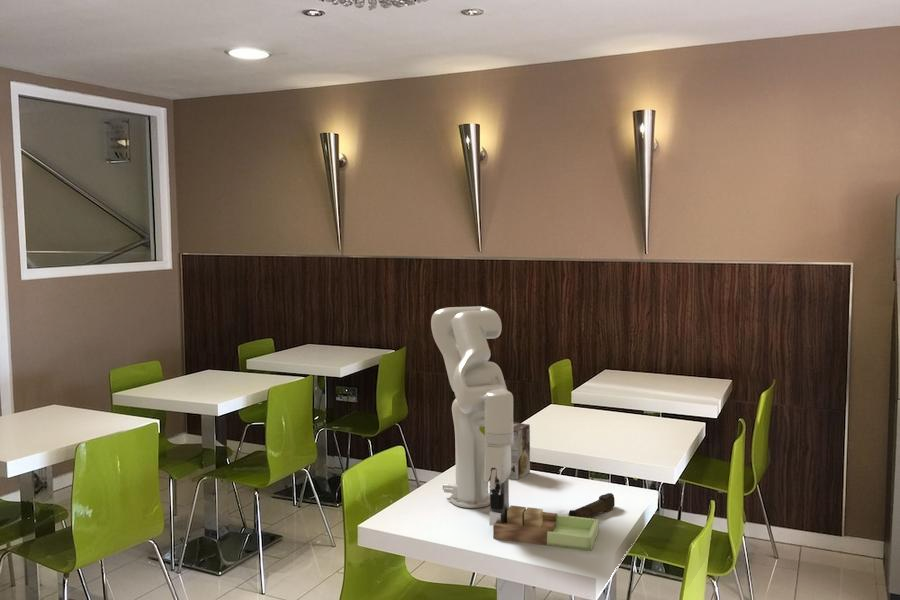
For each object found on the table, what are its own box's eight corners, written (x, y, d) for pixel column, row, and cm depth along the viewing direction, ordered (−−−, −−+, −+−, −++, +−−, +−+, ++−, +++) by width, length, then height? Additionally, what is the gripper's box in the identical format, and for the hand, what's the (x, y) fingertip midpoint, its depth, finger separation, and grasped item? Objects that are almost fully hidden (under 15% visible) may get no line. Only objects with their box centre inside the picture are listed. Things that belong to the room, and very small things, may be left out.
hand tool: (579, 527, 204) (579, 510, 204) (567, 522, 207) (567, 506, 207) (622, 510, 217) (622, 494, 216) (610, 506, 220) (610, 490, 219)
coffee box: (512, 469, 254) (512, 421, 253) (530, 472, 251) (530, 424, 250) (500, 477, 246) (500, 427, 245) (518, 480, 243) (518, 430, 242)
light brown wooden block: (524, 527, 199) (524, 512, 198) (527, 522, 202) (527, 507, 202) (539, 529, 197) (539, 514, 197) (542, 523, 201) (542, 508, 201)
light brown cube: (507, 525, 200) (507, 510, 200) (511, 520, 204) (511, 505, 203) (522, 527, 199) (522, 512, 198) (525, 521, 202) (525, 507, 202)
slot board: (493, 538, 197) (493, 524, 196) (506, 520, 209) (506, 507, 209) (547, 545, 192) (547, 531, 192) (557, 526, 204) (557, 513, 204)
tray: (547, 545, 192) (547, 532, 192) (557, 526, 204) (557, 514, 204) (591, 550, 189) (591, 538, 188) (598, 531, 201) (598, 519, 201)
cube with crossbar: (487, 524, 200) (487, 479, 199) (496, 514, 207) (496, 470, 206) (502, 526, 198) (502, 481, 197) (510, 515, 206) (510, 472, 205)
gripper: (494, 429, 210) (494, 494, 211) (475, 444, 194) (476, 515, 196) (521, 431, 207) (521, 497, 209) (504, 447, 192) (504, 518, 193)
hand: (499, 505), depth 202 cm, fingers closed on cube with crossbar, 4 cm apart
